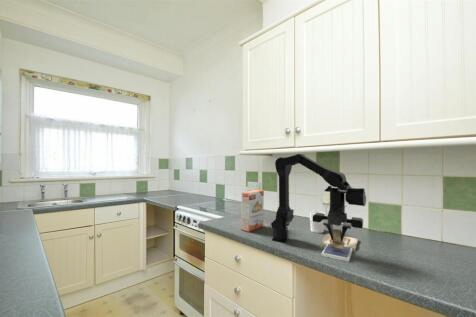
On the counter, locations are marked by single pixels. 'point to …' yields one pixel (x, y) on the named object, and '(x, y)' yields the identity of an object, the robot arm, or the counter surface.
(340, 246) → the stamp
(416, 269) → the counter surface
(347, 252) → the ink pad
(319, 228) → the white cup
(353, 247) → the board
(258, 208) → the cracker box
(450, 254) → the counter surface
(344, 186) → the robot arm
